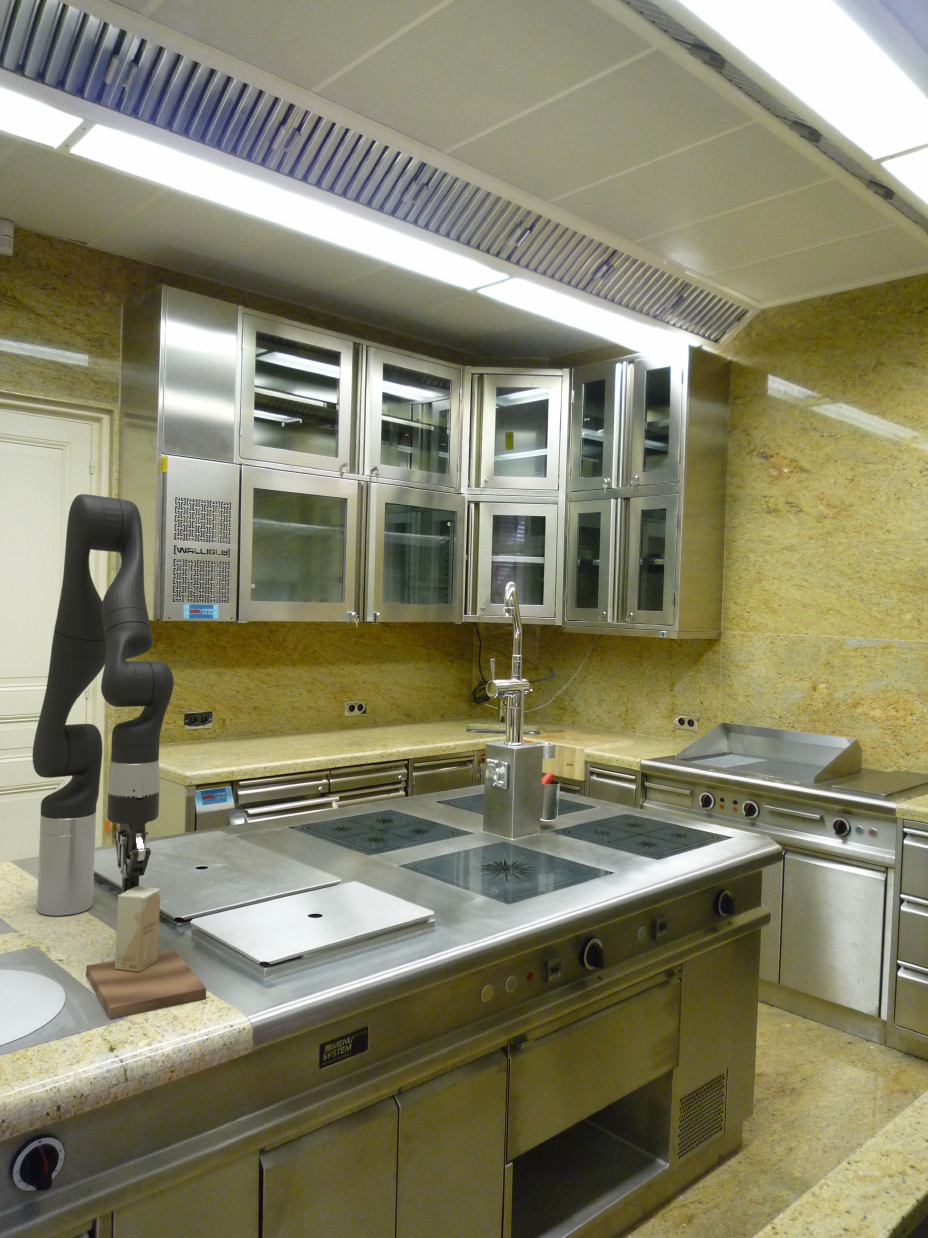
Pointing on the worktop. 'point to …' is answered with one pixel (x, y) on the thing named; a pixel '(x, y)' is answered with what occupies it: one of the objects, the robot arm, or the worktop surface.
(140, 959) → the box
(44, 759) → the robot arm
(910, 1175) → the worktop surface
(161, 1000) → the board
